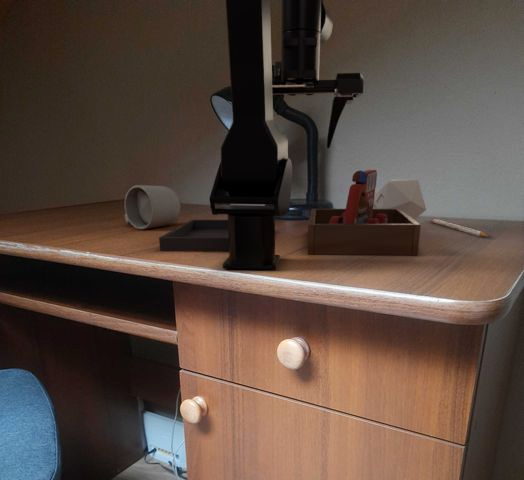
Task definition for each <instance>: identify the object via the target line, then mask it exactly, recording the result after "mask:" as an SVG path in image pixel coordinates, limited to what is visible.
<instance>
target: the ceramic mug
mask: <svg viewBox="0 0 524 480" xmlns="http://www.w3.org/2000/svg"><path fill="white" fill-rule="evenodd" d="M124 197H125V198H124V211H125V214H124V219H125V222H126V224H127V225H129V226H130V225H131V226H132V227H134V228H135V229H137V230H143V231H144V230H149V229H154V228H160V227H166V226H170V225H172V224H174V223H176V222H177V220H178V219H179V217H180V215H181V211H182V203H181V199H180V197H179V195H178V194H177V192H176V191H175V190H173V188H170V187H168V186H164V185H142V184H136V185H134V186H132V187H130V188H129V189H128V190H127V192H126V194H125V196H124Z"/></svg>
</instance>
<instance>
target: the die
mask: <svg viewBox="0 0 524 480" xmlns="http://www.w3.org/2000/svg"><path fill="white" fill-rule="evenodd" d="M373 209H401V210H403V211H404V212H405V213H406V214H408V215H409V216H410V217H411V218H413V219H414V220H415V221H416V219H417V218H419V216H421V215H422V214H423V213H425V212H426V211H427V208H426V204H425V200H424V196H423V192H422V190H421V186H420V182H419V180H418V179H395V178H393V179H391V180H389V181H388V182H387V183H385V184H384V185H383V186H382V187H381V188H380V189H379V190H378V191H376V192H375V195H374V206H373Z"/></svg>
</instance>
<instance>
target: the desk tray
mask: <svg viewBox="0 0 524 480" xmlns="http://www.w3.org/2000/svg"><path fill="white" fill-rule="evenodd" d="M158 243H159V251H160V252H161V251H162V252H229V234H228V219H191V220H188V221H187V222H185V223H183V224H181V225H180V226H178V227H176V228H174V229H172V230H170V231H168V232H167V233H165V234H163V235H161V236H159V237H158Z"/></svg>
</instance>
